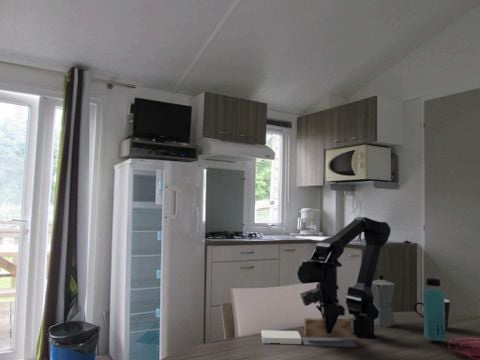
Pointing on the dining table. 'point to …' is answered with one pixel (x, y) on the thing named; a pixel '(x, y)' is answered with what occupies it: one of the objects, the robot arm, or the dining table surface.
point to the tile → (281, 337)
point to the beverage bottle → (434, 311)
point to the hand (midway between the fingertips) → (327, 332)
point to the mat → (327, 342)
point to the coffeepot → (383, 301)
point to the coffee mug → (447, 305)
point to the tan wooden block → (318, 328)
